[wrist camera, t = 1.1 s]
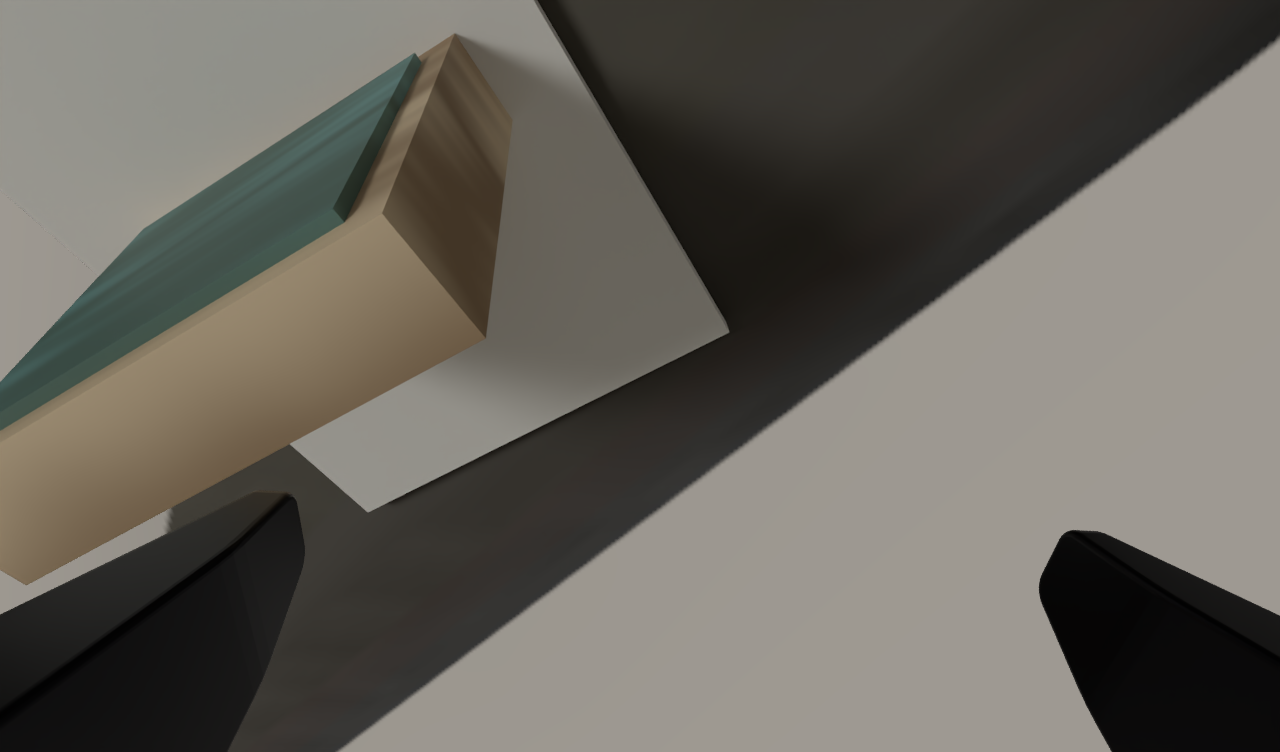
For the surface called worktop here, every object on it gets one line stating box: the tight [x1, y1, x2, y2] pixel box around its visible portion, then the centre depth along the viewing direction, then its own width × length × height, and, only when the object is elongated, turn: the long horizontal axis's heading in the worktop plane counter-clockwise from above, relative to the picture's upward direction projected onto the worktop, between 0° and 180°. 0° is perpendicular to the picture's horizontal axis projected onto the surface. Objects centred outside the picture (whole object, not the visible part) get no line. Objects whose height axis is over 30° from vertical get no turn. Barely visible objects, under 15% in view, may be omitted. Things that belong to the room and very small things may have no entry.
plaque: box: [0, 33, 513, 585], centre depth 17 cm, size 3×10×10 cm, turn 119°
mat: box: [0, 0, 729, 512], centre depth 21 cm, size 19×14×1 cm
